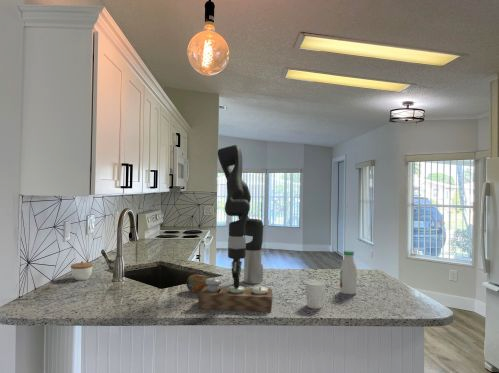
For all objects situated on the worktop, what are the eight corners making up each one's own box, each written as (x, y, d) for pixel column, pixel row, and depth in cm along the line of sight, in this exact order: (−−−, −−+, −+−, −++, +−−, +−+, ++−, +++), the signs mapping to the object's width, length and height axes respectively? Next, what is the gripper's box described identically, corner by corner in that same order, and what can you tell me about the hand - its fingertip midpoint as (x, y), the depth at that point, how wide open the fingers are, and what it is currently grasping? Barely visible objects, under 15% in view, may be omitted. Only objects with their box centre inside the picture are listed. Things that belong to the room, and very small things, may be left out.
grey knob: (222, 290, 159) (222, 277, 159) (219, 294, 153) (219, 281, 153) (207, 289, 160) (207, 277, 160) (203, 293, 153) (204, 281, 153)
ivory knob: (268, 298, 157) (268, 286, 157) (267, 303, 151) (267, 290, 151) (252, 298, 158) (252, 285, 158) (251, 303, 151) (251, 290, 151)
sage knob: (244, 298, 158) (245, 285, 158) (243, 302, 152) (243, 290, 152) (229, 297, 159) (229, 285, 159) (227, 302, 152) (227, 289, 152)
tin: (185, 291, 175) (186, 273, 175) (189, 289, 178) (190, 272, 178) (212, 296, 168) (212, 277, 168) (216, 294, 171) (216, 276, 171)
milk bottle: (359, 292, 176) (359, 251, 176) (351, 296, 170) (352, 253, 170) (344, 289, 181) (345, 249, 181) (336, 292, 176) (337, 251, 176)
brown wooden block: (272, 302, 160) (272, 288, 160) (271, 311, 148) (271, 297, 148) (204, 299, 163) (204, 286, 163) (198, 308, 151) (198, 294, 151)
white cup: (320, 310, 150) (320, 286, 150) (302, 307, 154) (302, 283, 154) (327, 305, 157) (327, 282, 157) (309, 302, 161) (310, 279, 161)
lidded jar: (87, 281, 190) (87, 263, 190) (66, 281, 191) (66, 263, 191) (96, 276, 201) (96, 259, 201) (76, 276, 201) (76, 259, 201)
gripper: (230, 243, 162) (229, 282, 162) (225, 248, 149) (225, 291, 149) (247, 244, 161) (246, 283, 161) (244, 249, 148) (243, 292, 148)
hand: (236, 287), depth 155 cm, fingers closed
